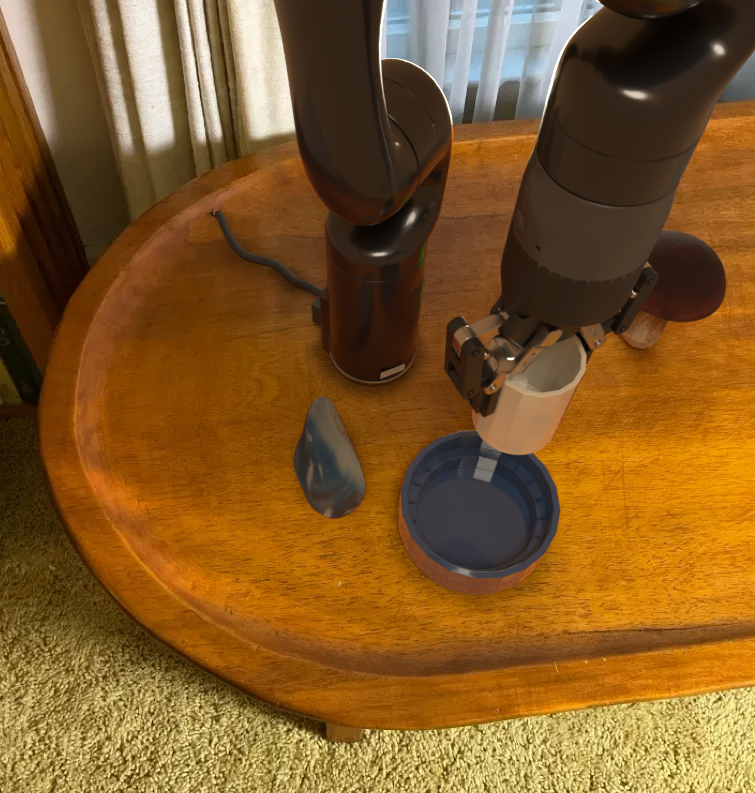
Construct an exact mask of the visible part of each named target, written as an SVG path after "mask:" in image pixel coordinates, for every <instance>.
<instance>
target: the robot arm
mask: <svg viewBox="0 0 755 793" xmlns="http://www.w3.org/2000/svg"><path fill="white" fill-rule="evenodd" d="M595 1H596V2H598V4H601V5H602V7H601V8H600V9H598V10H597V11H596V12H595V13H594V14H592V15H591V16H590V17H589V18H588V19H586V20H585V21H584V22H583V23H582V24H580V25H579V26H578V27H577V29H576V30H575V31H574V32H573V33H572V34H571V36H569V39H568V40H567V41H566V43H565V44H564V46H563V48H562V50H561V51H560V54H559V56H558V59H557V61H556V64H555V66H554V70H553V74H552V77H551V81H550V85H549V88H548V91H547V92H548V93H547V95H546V100H545V104H544V108H543V111H542V116H541V120H540V124H539V127H538V131H537V134H536V139H535V141H534V142H535V143H534V146H533V148H532V150H531V153H530V155H529V158H528V159H527V161H526V164H525V166H524V168H523V172H522V175H521V178H520V182H519V183H520V184H519V186H518V191H517V195H516V199H515V203H514V207H513V211H512V214H511V220H510V222H509V228H508V230H507V235H506V240H505V243H504V247H503V252H502V254H501V260H500V282H501V284H500V286H501V294H500V296H499V297H498V299H497V300H496V302H495V303H494V304H493V305H492V307H491V308H490V312H489V315H488V316H486V317H484V318H482V319H480V320H477V321H475V322H473V323H470V322H468V320H467V319H466V317H465V316H464V315H458V316H455V317H454V318H452V319H451V320H450V321H449V322H448V323H447V324H446V332H445V350H444V365H443V369H444V372H445V373H446V374H447V377H448V378H449V379H450V381H451V383H453V386H454V387H455V389H456V390H457V392H458V394H459V395H460V397H461V398H462V400H465V401H466V400H467V402H468V404H469V405H470V407H471V409H472V408H473V409H474V411H475V412H476V414H477V413H480V414H481V415H482V417H487V416H489V415H491V414H493V413H494V411H495V407H496V404H497V401H498V398H499V395H500V392H501V386H502V385H503V384H504V383H505V382H506V381H507V379H508V378H509V377H510V376H511V375H512V374H519V373H523V372H524V371H525V370H526V369H527V368H528V367H529V365H530V364H531V363H532V362H533V361H534V360H535V359H536V358H537V357H538V355H539V354H540V353H541V352H542V351H543V350H544V349H545V348H546V347H551V346H552V345H553V344H554V343H556V342H560V341H564V340H566V339H568V338H571V337H573V335H574V334H575V335H576V336H577V337H578V338H579V339H580V340H581V343H582V345H583V348H584V350H585V353H586V356H587V357H586V365H588V363H589V361H590V359H591V357H592V355H593V353H594V351H595V350H597V349H599V348H601V347H602V346H603V345H604V344H605V343H606V342H607V338H606V336H608V334H611V333H613V334H614V335H615V336H620V335H622V333H624V332H626V331H627V329H628V328H629V327H630V326H631V324H632V322H633V321H634V319H635V317H636V316H637V314H638V312H639V311H640V309H641V307H642V306H643V304H644V302H645V301H646V299H647V297H648V296H649V294H650V292H651V291H652V289H653V287H654V286H655V284H656V282H657V281H658V279H659V275H658V274H657V273H656V272H655V270H654V269H653V268H652V266H651V265H650V264H649V263H648V262H647V260H648V258H649V256H650V254H651V252H652V249H653V247H654V245H655V243H656V241H657V239H658V237H659V235H660V233H661V231H662V230H664V227H665V225H666V224H667V221H668V219H669V217H670V214H671V211H672V208H673V205H674V202H675V199H676V194H677V191H678V187H679V185H680V182H681V181H682V178H683V176H684V174H685V172H686V170H687V168H688V167H689V164H690V162H691V160H692V157H693V156H694V153H695V152H696V150H697V147H698V145H699V143H700V141H701V139H702V138H703V136H704V133H705V131H706V128H707V126H708V123H709V122H710V118H711V116H712V114H713V111H714V109H715V108H716V105H717V103H718V101H719V100H720V98H721V96H722V95H723V93H724V91H725V90H726V89H727V87H728V86H729V84H730V83H731V82H732V80H733V79H734V78H735V77H736V75H737V74H738V73H739V72H740V70H741V69H742V68H743V67H744V65H745V64H746V63H747V62H748V61H749V59H750V58H751V57H752V55H753V54H754V53H755V0H595ZM386 2H387V0H273V5H274V10H275V14H276V19H277V23H278V28H279V31H280V38H281V42H282V49H283V53H284V60H285V68H286V74H287V81H288V88H289V95H290V96H289V97H290V103H291V109H292V116H293V123H294V131H295V137H296V138H295V139H296V144H297V148H298V153H299V156H300V160H301V164H302V167H303V169H304V172H305V174H306V177H307V179H308V181H309V184H310V185H311V188H312V189H313V191H314V192H315V194H316V196H317V198H318V199H319V200H320V201H321V202H322V204H323V205H324V206H325V207H326V208H327V212H326V215H325V219H324V246H325V266H326V267H325V268H326V284H327V285H326V286H324V288H321V287H320V286H317V285H315V284H314V283H312V282H310V281H308V280H306V279H300V278H299V277H298V276H297V275H296V274H295V273H293V272H292V270H290V269H289V268H288V266H286V265H284V264H283V263H281V262H280V261H278V260H276V259H274V258H271V257H268V256H264V255H259V254H255V253H252V252H250V251H248V250H246V249H245V248H243V247H242V246H241V245H240V244H239V243H238V240H237V239H236V238H235V236H234V235H233V232H232V230H231V227H230V226H229V223H228V221H227V219H226V217H225V214H224V213H223V211H222V210H221V211H220V209H219V210H218V211H216V212H215V215H214V214H213V211H212V212H210V211H209V214H210V215H211V217H215V216H216V217H215V218H216V219H217V222H218V225H219V227H220V229H221V231H222V234H223V236H224V238H225V240H226V242H227V243H228V245H229V246H230V248H231V249H232V250H233V252H234V253H235V254H236V255H237V256H239V257H240V258H241V259H243V260H245V261H247V262H250V263H254V264H258V265H262V266H267V267H269V268H272V269H273V270H276V271H277V273H279V274H281V275H282V277H284V278H285V279H286V280H287V281H288V282H290V284H292V285H293V286H295V288H298V289H302V290H305V291H307V292H308V293H311V295H313V296H315V297H317V298H316V299H315V300H314V301H313V302H312V303H311V316H312V323H314V324H316V325H317V326H319V327H320V329H321V341H322V342H321V343H322V346H321V347H322V350H323V351H324V352H326V353H328V354H329V358H330V361H331V363H332V365H333V367H334V368H335V370H336V371H337V373H339V374H340V375H341V376H342V377H343V378H344V379H346V380H347V381H350V382H352V383H353V384H354V383H355V384H357V385H361V386H366V387H379V386H380V387H381V386H386V385H389V384H393V383H394V382H397V381H398V380H400V379H402V378H403V377H404V376H405V375H406V374H407V373H408V372H409V371H410V369H411V368H412V367H413V365H414V362H415V359H416V354H417V345H418V344H417V340H418V332H419V325H420V316H421V308H422V300H423V292H424V284H425V276H426V268H427V267H426V266H427V259H428V249H429V244H430V239H431V236H432V235H433V232H434V229H435V228H436V225H437V223H438V220H439V218H440V214H441V212H442V208H443V203H444V199H445V198H444V197H445V194H446V193H445V192H446V188H447V183H448V182H447V181H448V176H449V173H450V172H449V171H450V166H451V161H452V154H453V145H454V125H453V124H454V123H453V116H452V112H451V110H450V105H449V102H448V101H447V98H446V96H445V94H444V92H443V90H442V89H441V86H440V85H439V84H438V82H437V80H435V79H434V78H433V76H431V75H430V74H429V73H428V72H427V70H425V69H423V68H422V67H421V66H419V65H418V64H415V63H413V62H411V61H408V60H406V59H402V58H396V57H391V58H390V57H389V58H381V57H382V53H381V52H382V50H381V49H382V33H383V32H382V31H383V29H382V28H383V20H384V14H385V8H386V4H387V3H386ZM508 341H509V342H510V343H511V344H513V345H514V346H516V347H517V348H518V349H520V350H521V351H520V352H519V353H518V355H517V354H516V353H515V351H514V350H513V348H512V347H511V346H510V344H509V343H508ZM492 356H494V358H495V359H496V361H497V363H498V367H497V369H496V370H495V371H493V370H492V368H491V367H490V365H489V364H488V363H487V362H488V361H489V359H490V358H491V357H492Z"/></svg>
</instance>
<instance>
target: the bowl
mask: <svg viewBox="0 0 755 793" xmlns="http://www.w3.org/2000/svg"><path fill="white" fill-rule="evenodd" d="M560 516H561V506H560V500H559V493H558V487H557V485H556V483H555V481H554V480H553V477H552V476H551V473H550V471H549V470H548V468H547V466H546V464H544V463H543V462H542V461H541V460H540V459H539V458H538V456H536V454H534V453H530V454H525V455H513V454H507V453H504V452H501V451H498V450H496V449H494V448H493V447H491V446H490V445H488V444H487V443H486V442H485V441H484V440H483V439H482V438H481V437H480V435H479V434H478V433H477V431H476V430H458V431H456V432H453V433H450V434H449V433H448V434H445V435H443V436H440V437H437V438H436V439H435V440H433V441H432V442H430V443H429V444H427V445H426V446H425V447H423V448H422V449H421V450H420V451H419V452H418V453H417V454H416V456H415V457H414V459H413V460H412V462H411V463H410V464H409V465H408V467H407V468H406V471H405V475H404V478H403V481H402V485H401V488H400V492H399V501H398V509H397V517H398V533H399V536H400V540H401V542H402V544H403V547H404V549H405V552H406V554H407V556H408V557H409V558H410V560H411V561H412V562H413V563H414V564H415V566H416V567H417V569H418V570H419V571H420V572H421V573H422V574H423V575H424V576H426V577H427V578H429V579H430V580H431V581H433V582H435V583H436V584H438V585H439V586H441V587H443V588H444V589H447V590H450V591H454V592H457V593H462V594H464V595H471V596H472V595H493V594H497V593H499V592H502V591H505V590H508V589H511V588H513V587H516V586H517V585H519V584H520V583H522V582H523V581H524V580H525V579H526V578H527V577H528V576H530V575H531V574H532V573H533V572H534V571H535V570H536V568H537V566H538V565H539V563H540V562H541V561H542V559H543V557H544V556H545V554H546V552H547V551H548V549H549V547H550V546H551V544H552V542H553V541H554V539H555V537H556V535H557V533H558V527H559V522H560Z"/></svg>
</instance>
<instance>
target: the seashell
mask: <svg viewBox="0 0 755 793" xmlns="http://www.w3.org/2000/svg"><path fill="white" fill-rule="evenodd" d="M293 454H294V455H293V469H294V471H295V474H296V477H297V481H298V483H299V486H300V487H301V490H302V491H303V493H304V496H305V498H306V500H307V502H308V504H309V506H310V507H311V509H313V510H314V511H315V512H317V513H319V514H320V515H321V516H323V517H325V518H327V519H331V520H334V519H341V518H344V517H347V516H349V515H350V514H352V513H353V512H354V511H356V509H358V507H359V506H360V505H361V504H362V502H363V500H364V498H365V494H366V481H365V477H364V472H363V469H362V466H361V463H360V460H359V458H358V455H357V452H356V450H355V448H354V445H353V443H352V441H351V439H350V437H349V434H348V433H347V431H346V428H345V426H344V424H343V421H342V419H341V416H340V414H339V412H338V410H337V408H336V406H335V404H334V403H333V400H332V399H331V398H330V396H329V397H328V396H319V397H317V398H316V399H314V400H313V401H312V402H311V404H310V406H309V408H308V410H307V413H306V417H305V421H304V426H303V430H302V432H301V434H300V437H299V440H298V442H297V444H296V447H295V450H294V453H293Z"/></svg>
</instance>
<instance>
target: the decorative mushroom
mask: <svg viewBox="0 0 755 793" xmlns="http://www.w3.org/2000/svg"><path fill="white" fill-rule="evenodd" d="M647 262H648V263H649V264H650V265H651V266H652V268H653V269H654V270H655V272H656V273H657V274H658V275H659V279H658V281H657V282H656V284H655V286H654V287H653V289H652V291H651V292H650V294H649V296H648V297H647V299H646V301H645V302H644V304H643V306H642V307H641V309H640V311H639V312H638V314H637V316H636V317H635V319H634V321H633V322H632V324H631V326H630V327H629V328H628V329H627V331H626V332H624V333H622V334H621V337H622V339H623V341H624V342H625V343H626V344H628V345H629V346H630V347H632V348H635V349H641V350H642V349H643V350H646V349H649V348H651V347H652V346H654V345H655V344H656V343H657V341H658V340H659V339H660V338H661V337H662V334H663V333H664V331H665V329H666V327H667V326H668V323H669V322H673V323H692V322H698V321H701V320H704V319H706V318H708V317H711V316H712V315H713V314H714V313H716V311H717V310H718V309H720V307H721V306H722V304H723V302H724V299H725V297H726V292H727V278H726V271H725V267H724V265H723V262H722V260H721V258H720V257H719V255H718V254H717V253H716V251H715V250H714V249H713V248H712V247H711V246H710V245H709V244H707V242H705V241H704V240H703V239H700V238H699V237H697V236H695V235H693V234H690V233H687V232H683V231H680V230H673V229H671V230H670V229H662V231H661V233H660V235H659V237H658V239H657V241H656V243H655V245H654V247H653V249H652V252H651V254H650V256H649V258H648V260H647Z"/></svg>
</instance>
